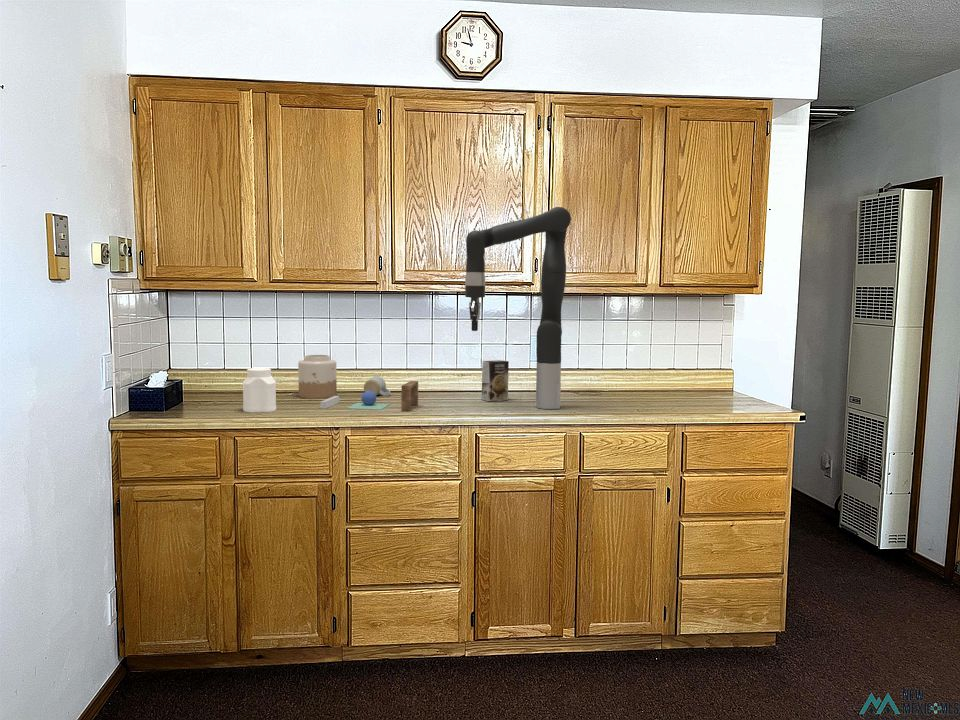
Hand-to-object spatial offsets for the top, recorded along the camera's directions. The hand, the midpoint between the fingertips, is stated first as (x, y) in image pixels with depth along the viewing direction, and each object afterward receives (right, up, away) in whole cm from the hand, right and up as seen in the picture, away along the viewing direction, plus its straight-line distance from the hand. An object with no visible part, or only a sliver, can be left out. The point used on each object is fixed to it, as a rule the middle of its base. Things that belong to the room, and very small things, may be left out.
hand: (474, 330), depth 281 cm
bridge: (-24, -29, -2) cm, 38 cm away
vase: (-65, -26, +26) cm, 74 cm away
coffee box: (+8, -28, +20) cm, 35 cm away
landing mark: (-40, -29, 0) cm, 49 cm away
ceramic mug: (-41, -26, +30) cm, 57 cm away
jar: (-78, -29, -11) cm, 84 cm away
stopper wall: (-55, -28, +2) cm, 62 cm away
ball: (-40, -26, +3) cm, 48 cm away
